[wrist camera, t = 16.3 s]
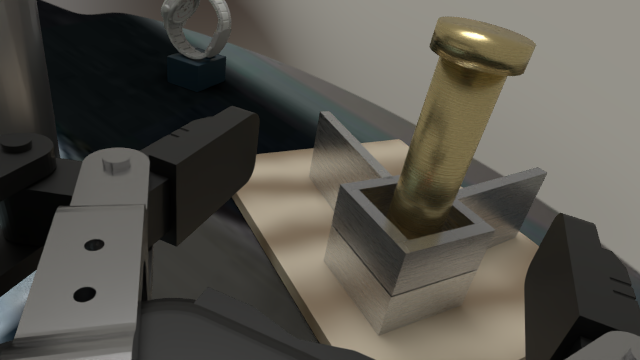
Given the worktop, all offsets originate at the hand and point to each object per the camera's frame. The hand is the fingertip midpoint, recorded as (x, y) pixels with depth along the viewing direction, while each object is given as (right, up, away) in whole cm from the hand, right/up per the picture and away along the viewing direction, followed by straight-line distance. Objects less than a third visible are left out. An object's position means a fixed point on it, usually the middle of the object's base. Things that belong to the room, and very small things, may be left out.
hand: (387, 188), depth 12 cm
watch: (-17, +12, +44) cm, 48 cm away
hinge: (+5, -3, +23) cm, 23 cm away
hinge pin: (+3, -6, +17) cm, 18 cm away
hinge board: (+4, -4, +23) cm, 24 cm away
